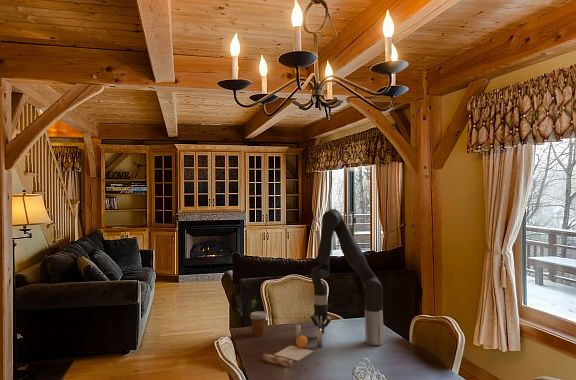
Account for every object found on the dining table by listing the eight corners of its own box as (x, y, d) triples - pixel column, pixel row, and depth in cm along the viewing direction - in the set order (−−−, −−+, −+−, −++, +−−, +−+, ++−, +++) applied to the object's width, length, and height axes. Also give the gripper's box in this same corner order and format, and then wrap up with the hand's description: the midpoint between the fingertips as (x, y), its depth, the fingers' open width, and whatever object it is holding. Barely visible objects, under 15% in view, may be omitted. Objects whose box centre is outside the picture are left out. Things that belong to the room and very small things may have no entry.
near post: (323, 346, 210) (322, 328, 210) (320, 347, 208) (320, 330, 208) (318, 345, 212) (318, 327, 212) (316, 346, 210) (315, 329, 210)
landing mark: (313, 351, 204) (313, 350, 204) (298, 360, 192) (298, 360, 192) (290, 345, 212) (290, 345, 212) (274, 354, 200) (274, 354, 200)
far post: (301, 341, 218) (301, 324, 218) (299, 343, 215) (298, 326, 216) (297, 340, 219) (297, 323, 219) (295, 342, 217) (294, 325, 217)
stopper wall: (292, 365, 187) (292, 360, 187) (290, 367, 185) (290, 361, 185) (265, 358, 196) (265, 353, 196) (262, 359, 194) (262, 354, 194)
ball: (311, 342, 211) (307, 333, 209) (306, 350, 206) (302, 340, 205) (301, 342, 214) (297, 332, 213) (296, 349, 209) (292, 340, 208)
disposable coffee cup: (268, 332, 234) (267, 311, 235) (265, 337, 225) (265, 315, 225) (252, 331, 235) (251, 310, 236) (248, 337, 226) (248, 315, 226)
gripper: (306, 302, 225) (307, 334, 225) (327, 305, 218) (328, 338, 217) (313, 299, 231) (314, 330, 231) (334, 302, 224) (335, 334, 224)
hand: (321, 334), depth 224 cm, fingers closed
